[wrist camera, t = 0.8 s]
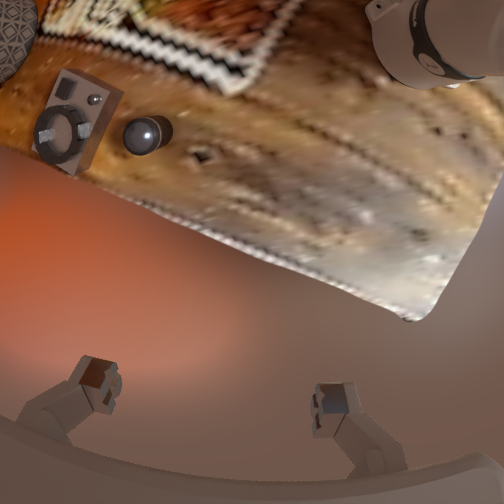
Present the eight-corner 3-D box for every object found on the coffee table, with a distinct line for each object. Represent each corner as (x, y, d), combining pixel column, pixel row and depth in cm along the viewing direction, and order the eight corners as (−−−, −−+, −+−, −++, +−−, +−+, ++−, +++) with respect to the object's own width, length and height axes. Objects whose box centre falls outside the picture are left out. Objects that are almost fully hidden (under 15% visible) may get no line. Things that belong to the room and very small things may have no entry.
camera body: (79, 69, 39) (55, 67, 32) (124, 92, 41) (104, 91, 35) (48, 143, 44) (24, 151, 38) (89, 168, 46) (67, 179, 40)
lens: (151, 109, 42) (132, 111, 35) (179, 125, 43) (164, 129, 37) (136, 138, 44) (115, 145, 37) (163, 154, 45) (146, 163, 39)
